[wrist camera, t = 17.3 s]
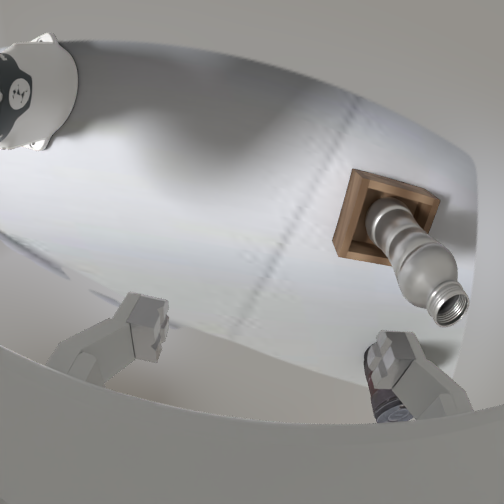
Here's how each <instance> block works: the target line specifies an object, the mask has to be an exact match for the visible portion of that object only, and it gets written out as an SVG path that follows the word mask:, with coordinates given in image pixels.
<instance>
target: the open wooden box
mask: <svg viewBox="0 0 504 504" xmlns="http://www.w3.org/2000/svg"><path fill="white" fill-rule="evenodd" d="M383 197H392V198H396V199H398V200H400V201H402V202H403V203H404V204H405V205H406V206H407V207H408V209H409V210H410V212H411V213H412V215H413V217H414V219H415V220H416V222H417V223H418V224H419V226H420V227H421V228H422V229H423V230H424V231H425V232H426V233H427V234H428V233H429V230H430V228H431V225H432V222H433V220H434V217H435V214H436V212H437V209H438V206H439V203H440V200H439V199H438V198H437V197H435V196H434V195H433V194H431V193H430V192H428V191H427V190H426V189H423V188H420V187H417V186H413V185H410V184H407V183H404V182H400V181H397V180H393V179H390V178H386V177H383V176H379V175H376V174H372V173H368V172H364V171H360V170H356V169H352V172H351V176H350V180H349V184H348V187H347V191H346V195H345V198H344V202H343V206H342V209H341V213H340V216H339V220H338V223H337V226H336V230H335V233H334V236H333V240H332V241H333V244H334V247H335V249H336V252H337V254H338V257H342V258H348V259H353V260H359V261H365V262H371V263H376V264H382V265H387V266H392V265H391V263H390V261H389V259H388V257H387V256H386V255H385V254H384V252H383V251H382V250H381V249H380V248H379V247H377V246H376V245H375V244H374V243H373V242H372V241H371V239H370V238H369V236H368V234H367V230H366V226H365V217H366V213H367V211H368V209H369V208H370V206H371V205H372V204H373V203H374V202H375V201H377V200H378V199H380V198H383Z"/></svg>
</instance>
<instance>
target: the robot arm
mask: <svg viewBox="0 0 504 504" xmlns="http://www.w3.org/2000/svg"><path fill="white" fill-rule="evenodd" d="M42 41H43V42H42ZM77 89H78V74H77V68H76V65H75V62H74V60H73V58H72V56H71V55H70V54H69V53H68V52H67V51H66V50H65V49H64V48H62V47H61V46H60V45H59V44H58V41H57V38H56V36H55V35H54V34H53V33H45V34H43V35H41V36H39V37H37V38H35V39H34V40H32V41H30V42H17V43H14V44H13V45H12V46H11V47H9V48H7V49H6V50H4V51H3V52H2V53H0V149H1V150H5V149H7V150H11V149H15V148H18V147H25V148H28V149H31V150H35V151H42V150H44V149H45V148H46V146H47V144H48V142H49V140H50V138H51V136H52V135H53V134H54V132H56V131H57V130H58V129H59V128H60V127H61V126H62V125H63V124H64V122H65V121H66V119H67V118H68V116H69V115H70V113H71V110H72V108H73V106H74V103H75V99H76V95H77ZM168 309H169V302H168V300H166V299H161V298H157V297H152V296H148V295H144V294H138V293H134V292H129V293H127V295H126V296H125V298H124V300H123V301H122V303H121V305H120V306H119V308H118V310H117V311H116V313H115V315H114V316H113V318H112V319H110V318H108V319H106V320H104V321H102V322H100V323H98V324H96V325H94V326H92V327H90V328H88V329H86V330H84V331H82V332H80V333H78V334H76V335H74V336H72V337H70V338H68V339H66V340H64V341H62V342H60V343H59V344H58V346H57V347H56V349H55V350H54V352H53V353H52V355H51V357H50V358H49V360H48V362H47V363H46V365H42V364H40V363H38V362H35V361H33V360H31V359H29V358H27V357H24V356H22V355H20V354H18V353H16V352H14V351H12V350H10V349H8V348H6V347H4V346H2V345H0V504H504V404H503V405H499V406H495V407H491V408H486V409H482V410H477V411H474V410H473V408H472V406H471V403H470V401H469V398H468V396H467V394H466V391H465V390H464V389H463V388H461V387H460V386H459V385H458V384H457V383H456V382H455V381H454V380H452V379H451V378H450V377H449V376H448V375H447V374H445V373H444V372H443V371H442V370H441V369H440V368H438V367H437V366H436V365H435V364H434V363H433V362H431V361H430V360H427V359H426V357H425V355H424V353H423V350H422V348H421V346H420V344H419V342H418V339H417V337H416V335H415V334H414V333H413V332H399V331H385V330H381V331H380V332H379V333H378V335H377V336H376V339H377V342H376V343H374V344H373V345H371V347H370V349H369V351H368V356H367V363H368V367H369V368H370V369H371V370H372V371H373V373H372V375H371V378H372V382H373V385H374V389H392V391H393V392H394V393H395V395H396V396H397V397H398V398H399V400H400V401H401V402H402V403H403V404H404V406H405V407H406V408H407V409H408V411H409V412H410V413H411V414H412V416H413V417H414V418H415V419H416V420H413V421H402V422H390V423H373V424H305V423H304V424H303V423H287V422H274V421H264V420H254V419H246V418H238V417H230V416H224V415H218V414H211V413H205V412H200V411H195V410H189V409H184V408H180V407H175V406H170V405H166V404H162V403H157V402H153V401H149V400H145V399H142V398H137V397H134V396H131V395H127V394H124V393H120V392H117V391H114V390H110V389H107V388H105V384H104V383H105V382H107V381H108V380H109V379H111V378H112V377H113V376H114V375H115V374H117V373H118V372H120V371H121V370H122V369H124V368H125V367H126V366H128V365H129V364H130V363H132V362H133V361H134V360H135V359H140V360H144V361H149V362H154V363H157V362H158V359H159V356H160V353H161V350H162V346H161V343H163V342H165V340H166V337H167V333H168V328H169V317H168V316H167V312H168Z"/></svg>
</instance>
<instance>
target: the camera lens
mask: <svg viewBox="0 0 504 504" xmlns="http://www.w3.org/2000/svg"><path fill="white" fill-rule="evenodd" d="M370 347H371V346H370ZM370 347H369V348H368V349H367V350H366V352H365V354H364V369H365V375H366V379H367V382H368V386H369V390H370V394H371V403H372V408H373V412H374V416H375V418H376V421H377V423H390V422H402V421H409V420H410V419H412V418H413V416H412V414H411V413H410V412H409V411H408V409H407V408H406V407H405V406H404V404H403V403H402V402H401V401H400V400H399V398H398V397H397V396H396V395H395V393H394V392H393V391H392V389H374V385H373V382H372V378H371V375H372V373H373V371H372V370H371V369H370V368H369V367H368V363H367V356H368V351H369V349H370Z"/></svg>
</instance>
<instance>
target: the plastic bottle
mask: <svg viewBox="0 0 504 504" xmlns="http://www.w3.org/2000/svg"><path fill="white" fill-rule="evenodd" d="M365 226H366V230H367V234H368V236H369V238H370V239H371V241H372V242H373V243H374V244H375V245H376V246H377V247H379V248H380V249H381V250H382V251H383V252H384V254H385V255H386V256H387V257H388V259H389V261H390V263H391V265H392V267H393V269H394V272H395V275H396V278H397V281H398V284H399V287H400V290H401V292H402V294H403V296H404V297H405V299H406V300H407V301H409V302H410V303H411V304H413V305H414V306H417V307H420V308H425V309H427V311H428V313H429V314H430V316H431V317H433V319H434V321H435V323H436V324H437V325H438V326H440V327H449V326H452V325H454V324H455V323H457V322H458V321H459V320H460V319H461V318H462V317H463V316H464V315H465V313H466V312H467V309H468V307H469V298H468V296H467V294H466V293H465V291H464V290H463V288H462V286H461V285H460V283H459V282H458V281H457V278H458V272H457V265H456V261H455V259H454V256H453V255H452V253H451V252H450V251H449V250H448V249H447V248H446V247H445V246H443V245H442V244H441V243H439V242H438V241H436V240H435V239H434V238H432V237H431V236H429V235H428V234H427V233H426V232H425V231H424V230H423V229H422V228H421V227H420V226H419V224H418V223H417V222H416V220H415V219H414V217H413V215H412V213H411V212H410V210H409V209H408V207H407V206H406V205H405V204H404V203H403V202H402V201H400V200H398V199H396V198H392V197H383V198H380V199H378V200H377V201H375V202H374V203H373V204H372V205H371V206H370V208H369V209H368V211H367V213H366V217H365Z"/></svg>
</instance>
